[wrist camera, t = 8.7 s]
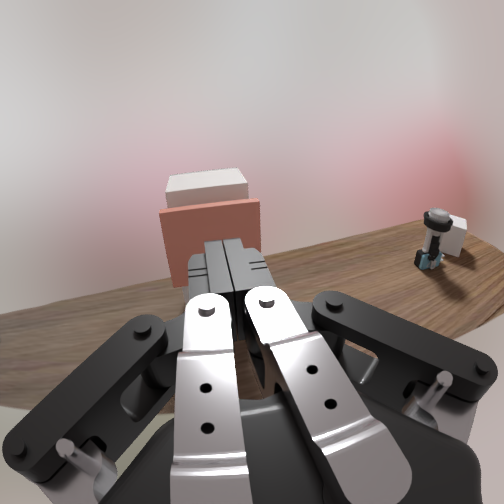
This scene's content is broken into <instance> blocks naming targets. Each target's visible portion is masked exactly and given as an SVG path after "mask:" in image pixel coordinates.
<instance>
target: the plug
mask: <svg viewBox="0 0 504 504" xmlns="http://www.w3.org/2000/svg"><path fill="white" fill-rule="evenodd" d="M159 216H160V222H161V228H162V233H163V238H164V244H165V249H166V254H167V259H168V264H169V268H170V273H171V278H172V282H173V287H174V288H175V287H183V286H189V284H188V261H189V259H190V258H191V256H192V255H194V254H203V253H205V246H204V241H213V240H221V241H222V240H223V239H230V238H240V239H241V242H242V245H243V247H244V249H246V248H255V249H256V250H258V251H259V252H260V253H261V238H260V236H261V235H260V203H259V200H258V198H251V199H242V200H232V201H223V202H214V203H206V204H198V205H190V206H182V207H175V208H167V209H161V210H160V212H159ZM222 245H223V244H222Z"/></svg>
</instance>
